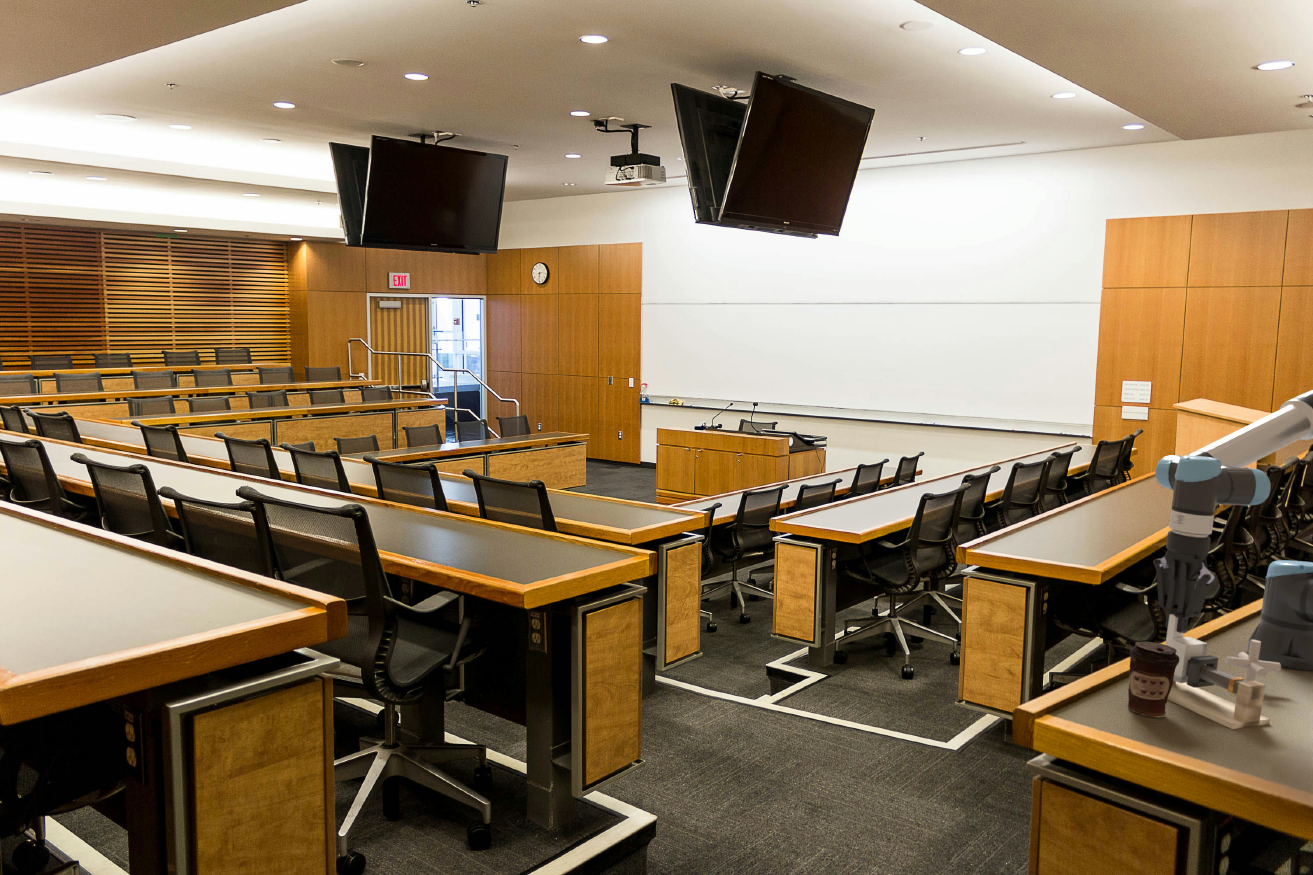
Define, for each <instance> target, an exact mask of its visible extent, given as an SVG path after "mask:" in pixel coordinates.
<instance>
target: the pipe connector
mask: <svg viewBox="0 0 1313 875" xmlns="http://www.w3.org/2000/svg"><path fill="white" fill-rule="evenodd" d="M1260 646H1261V642H1260V641H1258V640H1251V642H1250V649H1249V653H1248V654H1247V653H1246V652H1244V651H1241V652H1239V653H1238V654H1237V657H1236V656H1228V655H1226V656H1224V665H1226V666H1235V667H1242V668H1246V670H1245V675H1244V681H1247V682H1248V681H1256V677H1257V675H1258V676H1259V677H1261V678H1264V677H1266V676H1268V674H1269V672H1268V671H1273V672H1281V670H1282V666H1281V664H1280V663H1277V662H1269V661H1262V660H1260V659H1259V652H1260Z"/></svg>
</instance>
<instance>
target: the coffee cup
mask: <svg viewBox="0 0 1313 875" xmlns="http://www.w3.org/2000/svg"><path fill="white" fill-rule="evenodd" d="M1134 644H1135V645H1134V646H1132V647H1131V648H1130V651H1129V656H1130V657H1129V672H1128V675H1129V676H1128V677H1129V679H1128V680H1129V683H1128V688H1127V689H1128V690H1127V692H1128V693H1127V694H1128V703H1127V708H1128V709H1129V710H1130V711H1132V712H1134V713H1136V714H1139V715H1142V716H1146V717H1151V718H1152V717H1153V718H1164V717H1166V714H1167V713H1166V704H1167V702H1168V695H1169V693H1170V691H1171V688H1172V684H1173V679H1174V673H1175V668H1176V666H1177V665H1178V663H1179V659H1180V658H1179V656H1178V655H1176V651H1177V650H1176V649H1175V648H1172V647H1170V646H1168V645H1165V644H1163V643H1159V642H1154V641H1153V642H1150V641H1136V642H1135V643H1134Z"/></svg>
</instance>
